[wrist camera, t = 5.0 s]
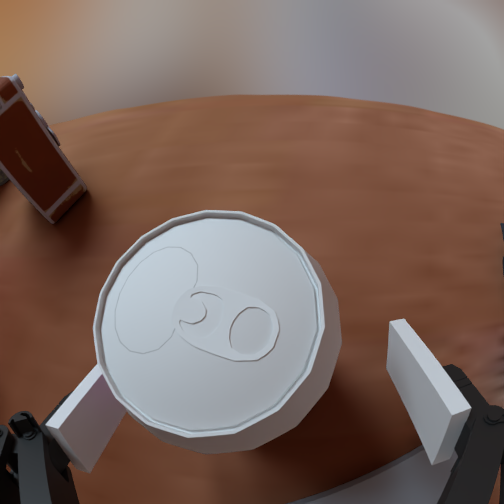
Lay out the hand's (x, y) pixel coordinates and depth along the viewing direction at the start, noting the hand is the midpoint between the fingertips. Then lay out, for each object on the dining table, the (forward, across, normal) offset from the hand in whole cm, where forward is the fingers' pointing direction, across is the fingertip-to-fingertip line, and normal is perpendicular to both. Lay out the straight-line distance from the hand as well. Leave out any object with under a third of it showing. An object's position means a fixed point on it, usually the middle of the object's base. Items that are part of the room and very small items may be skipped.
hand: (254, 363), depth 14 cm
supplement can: (+6, -1, -6) cm, 9 cm away
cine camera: (+25, -30, +13) cm, 42 cm away
